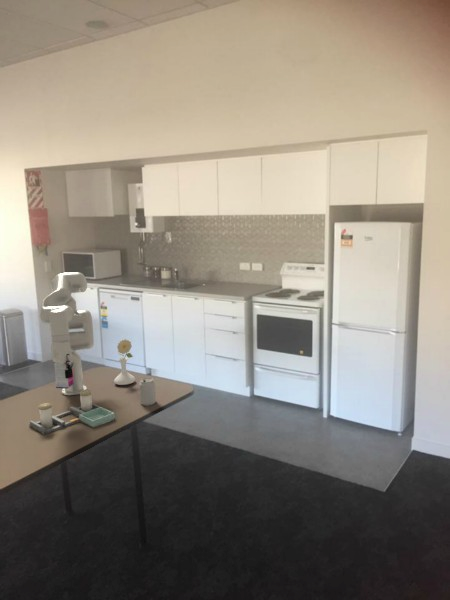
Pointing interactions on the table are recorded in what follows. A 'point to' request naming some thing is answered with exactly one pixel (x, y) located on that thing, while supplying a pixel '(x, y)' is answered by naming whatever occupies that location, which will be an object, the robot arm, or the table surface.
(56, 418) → the clip holder
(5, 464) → the table surface
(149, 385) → the can
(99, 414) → the tray
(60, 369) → the supplement box
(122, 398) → the table surface
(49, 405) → the fuse
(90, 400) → the cylinder
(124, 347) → the flower in vase
